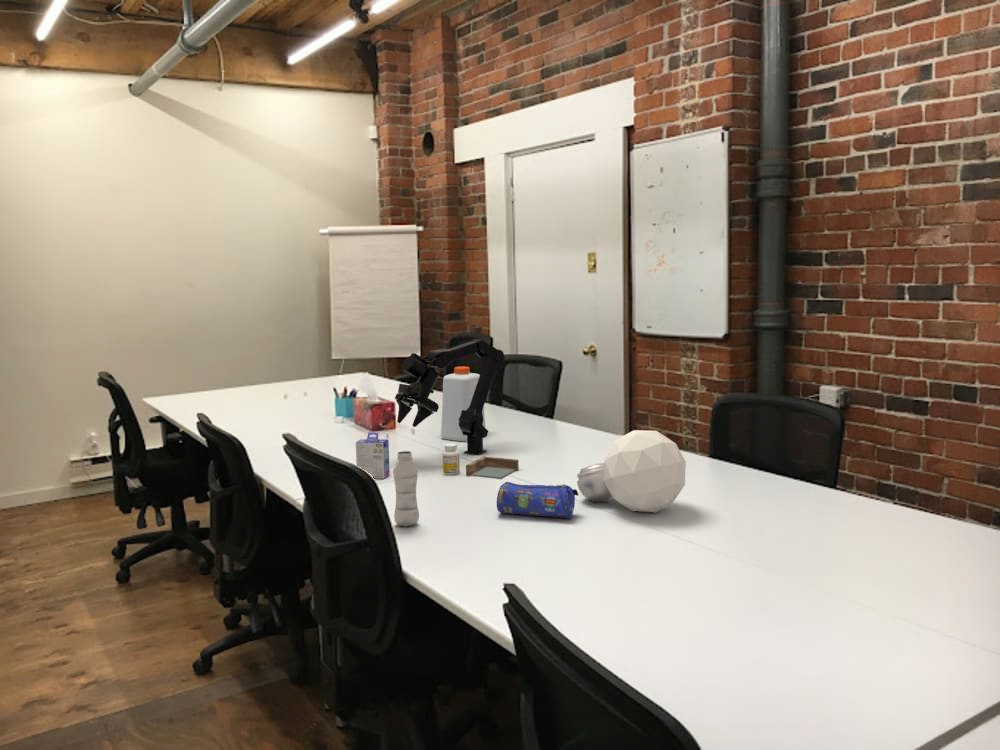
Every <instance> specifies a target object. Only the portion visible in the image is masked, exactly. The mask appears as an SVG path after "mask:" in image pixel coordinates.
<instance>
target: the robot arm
mask: <svg viewBox="0 0 1000 750" xmlns="http://www.w3.org/2000/svg"><path fill="white" fill-rule="evenodd" d="M475 353H476V355H477V356H478V357H479V358H480V368H481V370H480V374H479V375H480V377H479V380H478V382H477V385H476V388H475V391H474V394H473V397H472V400H471V403H470V406H469V408H468V409H467V410H462V412H461V416H460V418H459V419H458V420H459V427H460V429H461V430H462V433H463V435H466V436H467V442H466V447H467V450H465V451H463V454H467V455H482V454H483V453H486V452H487V451H488V450H487V449H485V448H484V438H487V437H488V434H489V430H488V429H487V428H485V427H486V426H485V427H484V426H483V425H482V424H483V414H482V410H483V407H484V408H485V403H486V401H487V398H488V394H489V392H490V389H491V385H492V382H493V380H494V377H495V375H496V373H498V371H499V370H500V369H501V368H502V366H503V364H504V362H505V360H506V356H505V353H504V351H503V350H502V349H499V348H496V347H494V346H492V345H491V344H489V343H488V342H485V341H484V340H482V339H472V340H471V341H468V342H465V343H461V344H458V345H456V346H453V347H451V348H446V349H434V350H430V351H428V353H427V355H425V356H422V357H421V356H420V355H418V353H414V352H412V353H410V355H409V356H408V357H406V358H405V360H403V362H402V366H401V367H402V370H404V371H405V372H406V373H408V374H409V375H411V376H413V377H414V378H418V380H417V382H416V381H414V382H410V384H407V383H406V384H405V383H399V384H398V389H397V393H396V395H395V397H394V399H395V402H396V403H397V404H398V412H397V413H398V414H397V421H396V422H397V423H398V424H401V423H402V422H403V420H404V419H405V418H406V417H407V416H408V415H409V413H410V412H411V411H412V409H413V408H412V407H413V406H414V405H416V407H417V413H416V414H415V416H414V420H413V422H412V427H414V428H416V427H417V426H418V425H420V423H422V422H423V421H425V420H426V419H427V418H429V417H430V416H431V415H433V414H435V413H437V412H438V410H439V408H440V407H439V406H440V405H439V404H438V403H437V402H435V400H432V398H429V397H430V395H431V394H432V395H433V394H434V392H435V390H433V388H434V386H435V384H436V383H437V380H438V379H443V378H444V374H443V370H440V369H444V368H447V367H449V366H450V365H452V363H453V362H454V361H456V360H458V359H461V358H463V357H467V356H469V355H473V354H475ZM428 366H430V367H428ZM436 368H437V369H436Z"/></svg>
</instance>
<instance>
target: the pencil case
mask: <svg viewBox="0 0 1000 750" xmlns="http://www.w3.org/2000/svg"><path fill="white" fill-rule="evenodd" d="M575 496H579V493H578V489H576V488H574V489H573V488H572V487H571V486H569V485H566V484H564V483H563V484H556V485H554V484H553V485H544V484H518V483H514V482H510V481H506V482H504V483H502V484H501V485H500V486H499V489H498V492H497V496H496V509H497V511H498V512H499V513H501V514H513V515H522V516H523V515H524V516H534V517H549V518H551V517H552V518H563V519H569V520H571V519H572V518H573V517H574V516H573V515H574V514H573V513H574V510H575V507H576V506H575V505H576V500H575V499H576V497H575Z"/></svg>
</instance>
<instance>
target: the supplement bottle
mask: <svg viewBox="0 0 1000 750" xmlns="http://www.w3.org/2000/svg"><path fill="white" fill-rule="evenodd" d="M457 446H458V445H457V443H451V442H450V443H446V444H444V451H443V452H442V467H443V468H442V471H443V475H446V476H456V475H458V474H460V451H458V450H457Z"/></svg>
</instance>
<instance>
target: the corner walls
mask: <svg viewBox="0 0 1000 750" xmlns="http://www.w3.org/2000/svg"><path fill="white" fill-rule="evenodd" d="M486 466H487V467H497V468H507V469H515V471H514V472H517V471H519V468H520V467H519V459H513V458H503V457H493V456H482V457H480V458H477V459H476V460H475V459H474V461H472V462H470V463H468V464H466V465H465V476H467V477H472V476H471V474H472V473H474V472H476V471H478V470H480V469H482V468H484V467H486Z"/></svg>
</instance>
